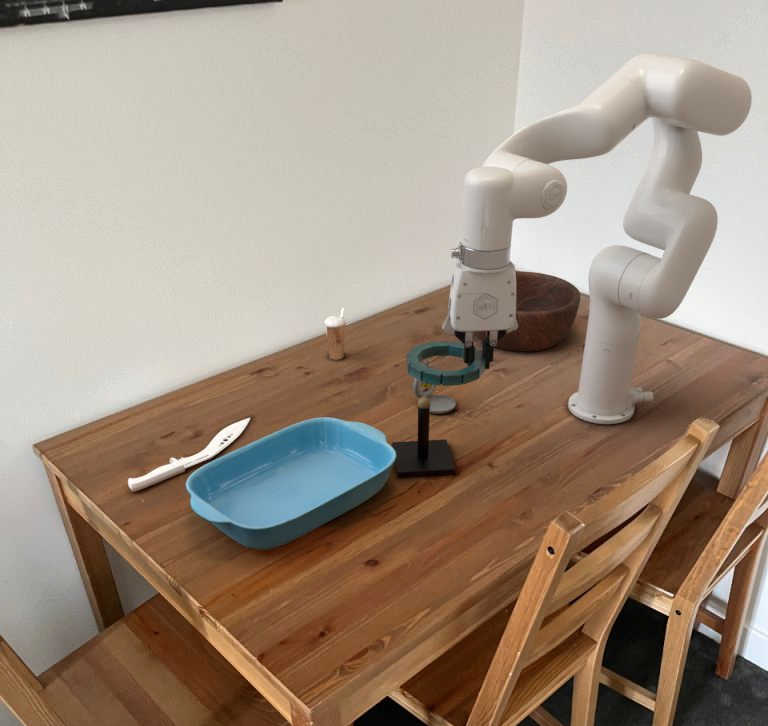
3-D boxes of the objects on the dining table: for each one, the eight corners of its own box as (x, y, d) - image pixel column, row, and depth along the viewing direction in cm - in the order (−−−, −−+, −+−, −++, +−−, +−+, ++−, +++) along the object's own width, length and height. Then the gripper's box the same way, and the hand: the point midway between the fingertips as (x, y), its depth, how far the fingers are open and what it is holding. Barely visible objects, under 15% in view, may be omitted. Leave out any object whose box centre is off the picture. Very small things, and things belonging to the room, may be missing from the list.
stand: (446, 444, 156) (448, 382, 149) (454, 474, 148) (458, 410, 141) (391, 447, 155) (391, 385, 148) (397, 478, 147) (397, 413, 140)
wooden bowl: (584, 358, 185) (590, 313, 179) (468, 358, 185) (471, 313, 179) (565, 312, 205) (571, 270, 199) (461, 312, 205) (463, 270, 199)
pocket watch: (453, 417, 164) (455, 370, 158) (410, 413, 166) (410, 366, 160) (458, 397, 171) (460, 351, 165) (417, 393, 172) (418, 347, 166)
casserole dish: (333, 436, 159) (331, 402, 155) (420, 483, 146) (421, 447, 142) (164, 520, 138) (157, 483, 134) (249, 583, 125) (244, 545, 121)
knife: (249, 413, 164) (274, 427, 160) (250, 420, 165) (275, 435, 161) (108, 468, 147) (132, 486, 142) (110, 476, 148) (133, 494, 143)
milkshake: (353, 353, 187) (351, 310, 181) (339, 363, 183) (337, 319, 178) (336, 349, 189) (334, 306, 183) (322, 358, 185) (319, 314, 180)
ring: (476, 349, 145) (476, 339, 144) (491, 383, 135) (492, 373, 134) (402, 352, 144) (402, 343, 143) (412, 387, 134) (412, 377, 133)
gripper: (436, 266, 125) (433, 379, 136) (542, 261, 126) (530, 374, 137) (429, 248, 131) (426, 358, 142) (530, 245, 133) (519, 353, 143)
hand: (477, 365), depth 140 cm, fingers closed on ring, 2 cm apart
